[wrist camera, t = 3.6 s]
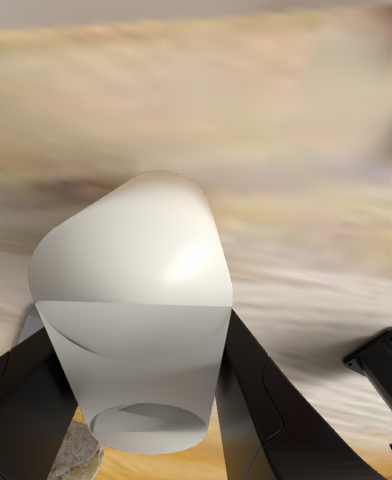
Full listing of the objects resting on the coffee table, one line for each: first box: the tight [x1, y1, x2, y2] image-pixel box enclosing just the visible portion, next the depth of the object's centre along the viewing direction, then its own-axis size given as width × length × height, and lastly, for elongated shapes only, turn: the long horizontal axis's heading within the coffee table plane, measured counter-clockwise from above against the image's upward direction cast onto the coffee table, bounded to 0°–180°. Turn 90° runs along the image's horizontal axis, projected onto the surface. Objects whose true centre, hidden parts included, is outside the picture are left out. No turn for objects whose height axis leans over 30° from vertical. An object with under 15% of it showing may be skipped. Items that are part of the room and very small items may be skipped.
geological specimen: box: [47, 421, 105, 480], centre depth 26 cm, size 11×6×15 cm
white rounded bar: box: [28, 170, 233, 454], centre depth 8 cm, size 4×12×4 cm, turn 177°
